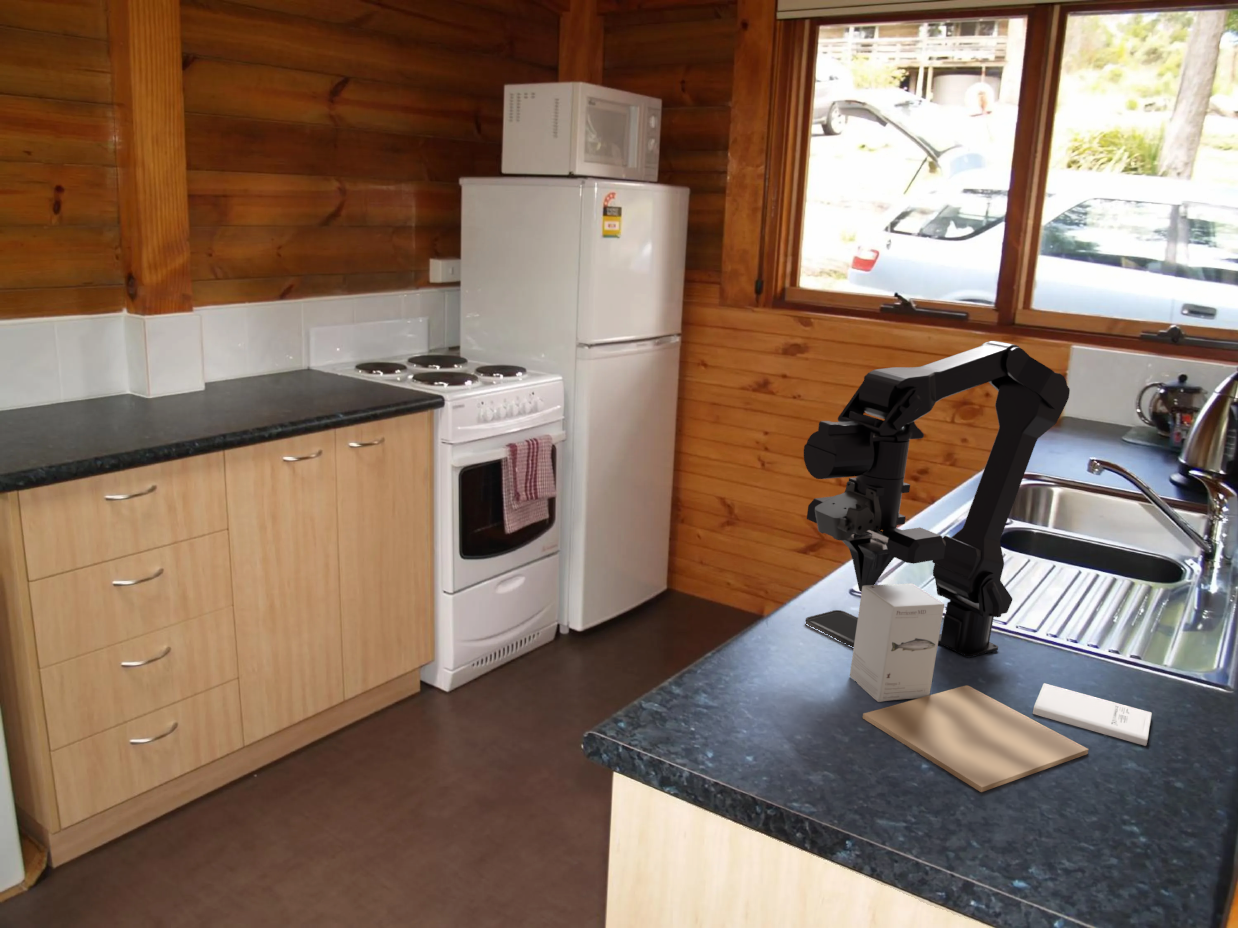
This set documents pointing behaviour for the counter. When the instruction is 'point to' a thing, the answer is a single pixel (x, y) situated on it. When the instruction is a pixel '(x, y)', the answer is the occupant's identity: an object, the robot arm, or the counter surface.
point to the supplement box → (896, 641)
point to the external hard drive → (1093, 714)
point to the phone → (836, 625)
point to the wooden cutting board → (975, 737)
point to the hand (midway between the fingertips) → (864, 591)
